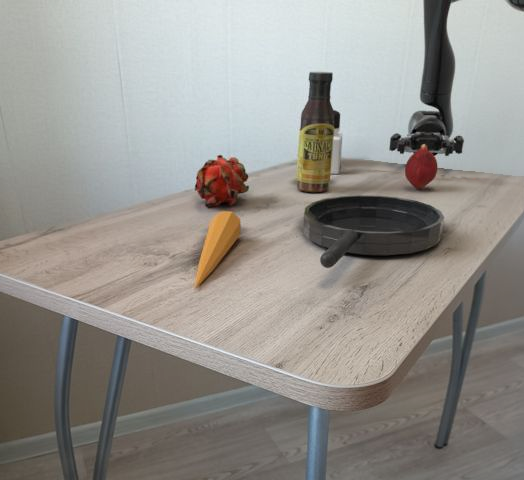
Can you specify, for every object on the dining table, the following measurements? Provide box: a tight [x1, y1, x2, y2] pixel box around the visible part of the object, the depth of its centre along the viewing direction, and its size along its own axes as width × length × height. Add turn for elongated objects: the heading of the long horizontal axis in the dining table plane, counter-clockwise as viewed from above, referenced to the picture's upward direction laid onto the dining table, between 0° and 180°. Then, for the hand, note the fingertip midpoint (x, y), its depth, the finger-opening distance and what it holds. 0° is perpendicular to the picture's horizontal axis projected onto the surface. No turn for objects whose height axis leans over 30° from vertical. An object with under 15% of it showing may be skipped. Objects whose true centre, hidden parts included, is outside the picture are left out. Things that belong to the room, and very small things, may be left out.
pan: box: [302, 194, 445, 257], centre depth 78 cm, size 19×19×4 cm
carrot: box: [193, 210, 242, 291], centre depth 70 cm, size 20×4×4 cm, turn 172°
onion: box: [404, 144, 438, 190], centre depth 101 cm, size 6×6×8 cm
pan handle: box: [319, 230, 358, 269], centre depth 66 cm, size 11×2×2 cm, turn 155°
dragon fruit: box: [194, 154, 250, 208], centre depth 93 cm, size 8×8×12 cm
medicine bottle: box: [330, 109, 343, 175], centre depth 116 cm, size 7×7×12 cm
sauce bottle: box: [296, 71, 335, 193], centre depth 99 cm, size 6×6×20 cm
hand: (424, 149), depth 106 cm, fingers open, 8 cm apart
